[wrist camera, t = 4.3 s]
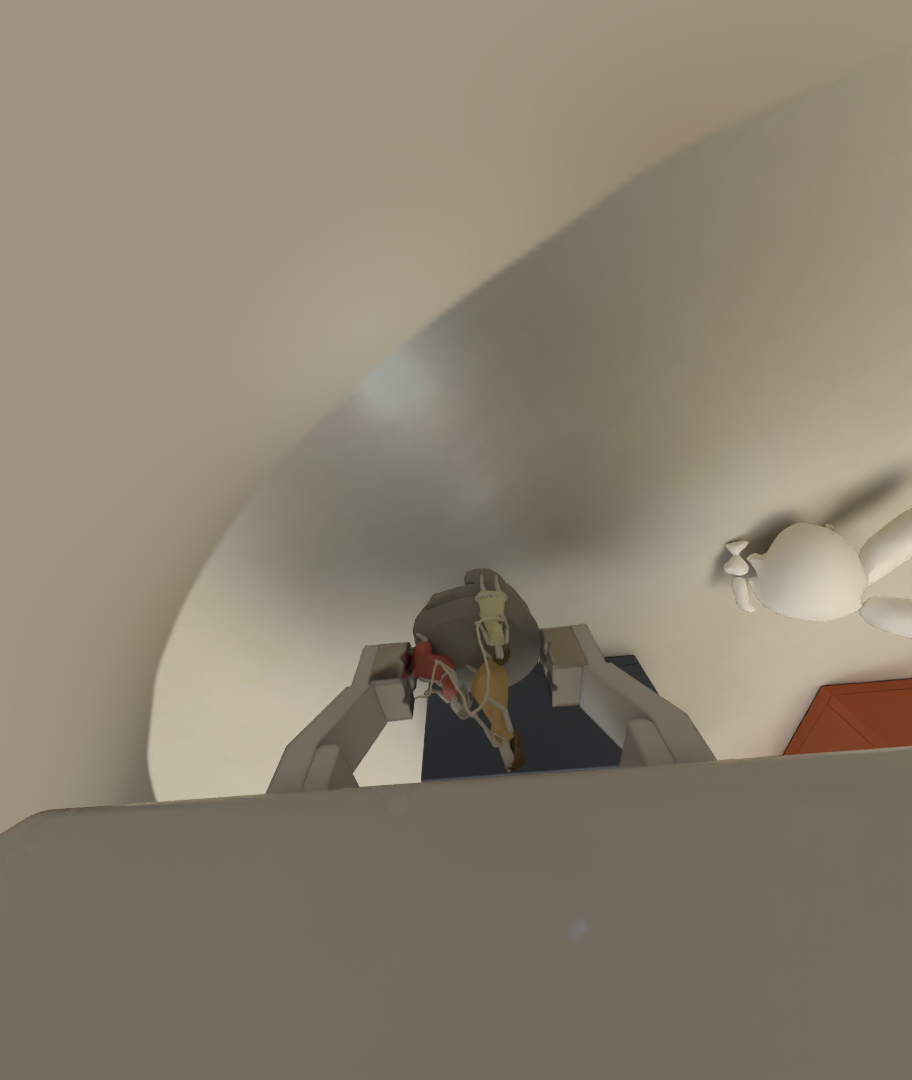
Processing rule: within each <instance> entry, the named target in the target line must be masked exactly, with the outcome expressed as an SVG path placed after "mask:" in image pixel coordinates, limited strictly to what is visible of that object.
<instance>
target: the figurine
mask: <svg viewBox="0 0 912 1080" xmlns="http://www.w3.org/2000/svg"><path fill="white" fill-rule="evenodd" d="M464 581H465V585H464V586H460V587H457V588H453V589H450V590H446V591H443V592H439V593H436V594H434V595H433V596H432V597H431V598H430V600H429V601H428V603H427V605H426V606H425V607H424V608H423V609H422V610H421V612H420V613H419V614H418V616H417V617H416V619H415V622H414V626H413V635H414V638H415V644H416V646H415V647H414V648H413V647H412V654H411V672H412V677H416V678H417V679H419V680H420V681H423V682H431V684H430V689H428V690H426V691H425V692H424V695H425V696H418V697H416V698H414V699H417V698H425V697H428V696H429V695H430V694H431V693H437V694H438V695H439V696H440V697H441V698H442V699H443V700H444V701H445V702H446V703H450V705H451V708H452V709H453V711H454V712H455V713H456V714H457V716H458V717H459V718H461V719H463V720H464V719H467V718H468V717H469V716H470V717H472V718H475V719H476V721H477V722H478V723H479V724H480V725H481V726H482V727H483V728H484V732H485V733H486V735H487V737H488V739H489V740H490V742H491V744H492V745H493V747H498V748H499V749H500V753H501V756H502V758H503V759H502V760H503V761H504V764H505V765H504V766H505V768H506V770H507V772H510V771H512V772H516V771H517V770H518V769H519V768H520V767H521V766H522V765H523V764H524V762H525V761H524V760H526V759H527V758H526V759H525V756H526V752H525V754H524V756H523V740H522V746H521V738H523V737H522V732H521V734H519V729H518V737H517V733H516V729H515V727H514V734H513V727H512V723H511V720H510V716H509V713H508V710H507V707H508V687H509V686H511V685H513V684H515V683H517V682H519V681H520V680H522V679H523V678H524V677H526V676H527V675H528V674H529V673H530V672H531V670H532V669H533V668H534V666H535V665H536V663H537V661H538V659H539V656H540V648H541V647H542V646H541V643H540V640H539V628H538V626H537V624H536V622H535V620H534V618H533V617H532V615H531V614H530V611H529V609H528V606H527V605H526V603H525V602H524V601H523V599H522V598H521V597H520V596H519V594H518V593H517V592H516V591H515V590H514V589H513V588H512V587H511V586H510V585H509V584H507V583H505V581H504V580H503V578H502V577H501V576H500V575H499V574H497V573H496V572H495V571H493V570H490V569H473V570H471V571H468V572H467V573H466V575H465V578H464ZM433 682H434V683H435V684H437V685H438V686H440V687H441V688H442V691H440V690H437V689H432V685H433ZM468 692H471V693H472V695H473V696H474V698H475V699H476V701H477V702H478V704H479V705H480V706H479V707H478V708H477V709H476V710H474V711H472V712H471V709H470V707H471V705H472V701H471V702H470V699H471V698H470V697H469V693H468ZM481 708H482V710H483V711H484V713H485V715H486V716H487V718H488V719H489V721H490V722H491V724H492V725H491V731H490V730H489V728H487V727H486V725H485V724H484V722H483V721H482V720H481V719H480V718H479V717H478V714H476V713H477V712H478V711H479V710H480V709H481ZM513 726H514V724H513ZM520 735H521V737H520ZM512 749H513V750H512ZM526 751H527V749H526ZM522 756H523V757H522Z"/></svg>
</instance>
